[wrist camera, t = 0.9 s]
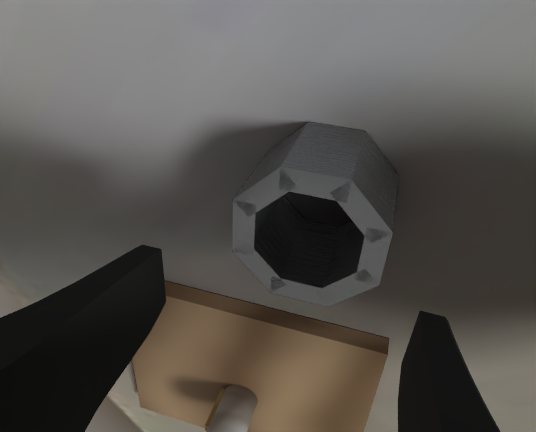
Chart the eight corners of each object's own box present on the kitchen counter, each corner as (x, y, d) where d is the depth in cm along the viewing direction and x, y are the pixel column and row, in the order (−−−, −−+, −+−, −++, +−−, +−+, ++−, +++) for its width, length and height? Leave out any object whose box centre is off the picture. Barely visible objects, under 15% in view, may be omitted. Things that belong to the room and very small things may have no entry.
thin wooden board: (388, 338, 21) (381, 422, 17) (351, 459, 27) (340, 540, 23) (129, 271, 24) (76, 331, 20) (147, 394, 30) (110, 457, 26)
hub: (408, 137, 16) (404, 189, 13) (379, 251, 19) (370, 317, 15) (269, 115, 17) (233, 157, 14) (262, 226, 20) (231, 282, 16)
